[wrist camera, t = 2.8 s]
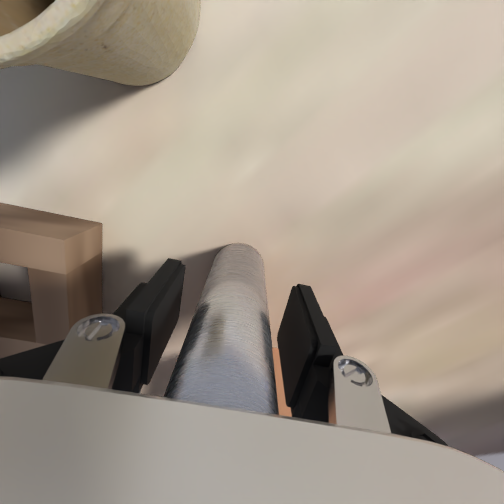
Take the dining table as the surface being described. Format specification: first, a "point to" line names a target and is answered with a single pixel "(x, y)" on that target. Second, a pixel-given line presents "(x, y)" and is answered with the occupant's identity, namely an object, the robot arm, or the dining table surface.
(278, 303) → the dining table surface
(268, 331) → the steel pin
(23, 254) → the walnut bore block
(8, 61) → the flower pot
